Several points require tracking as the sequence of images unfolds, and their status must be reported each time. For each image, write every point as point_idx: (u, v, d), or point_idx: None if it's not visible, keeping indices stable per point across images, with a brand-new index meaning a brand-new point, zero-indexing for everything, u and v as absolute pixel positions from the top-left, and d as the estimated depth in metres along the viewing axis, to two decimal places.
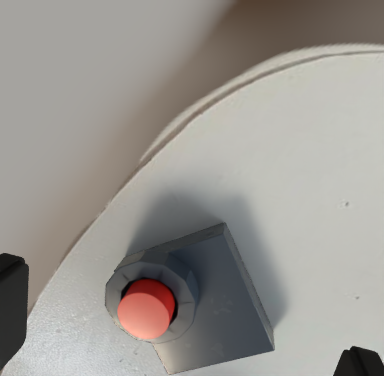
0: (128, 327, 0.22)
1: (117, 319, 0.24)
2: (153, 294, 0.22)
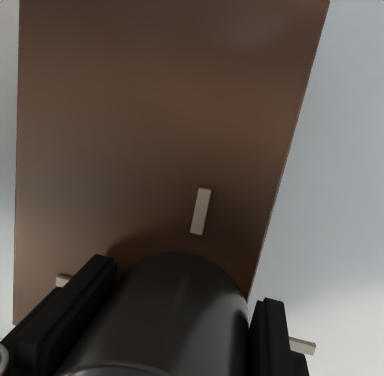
0: None
1: None
2: None
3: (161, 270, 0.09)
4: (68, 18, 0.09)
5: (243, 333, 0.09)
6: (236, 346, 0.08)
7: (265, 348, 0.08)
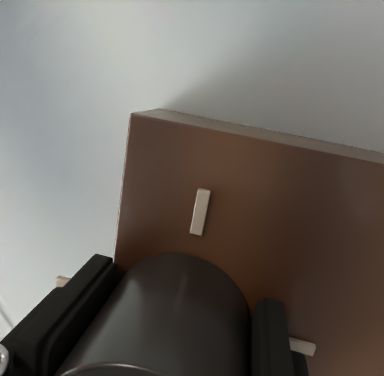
0: None
1: None
2: None
3: (160, 271, 0.09)
4: None
5: (243, 333, 0.09)
6: (236, 347, 0.08)
7: (265, 348, 0.08)
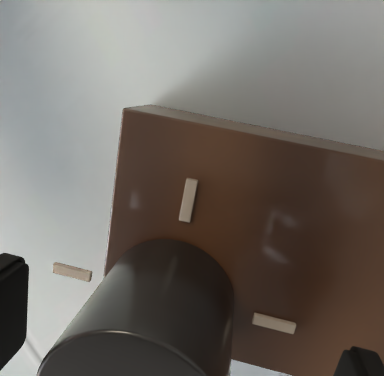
0: None
1: None
2: None
3: (151, 254, 0.10)
4: None
5: (227, 310, 0.09)
6: (220, 321, 0.09)
7: None
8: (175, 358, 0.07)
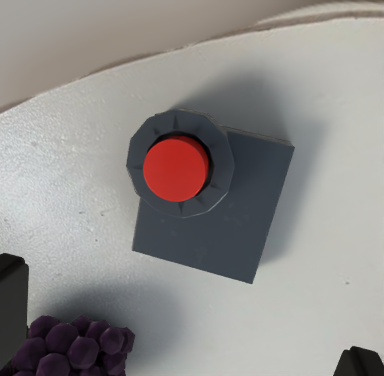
0: (149, 173, 0.19)
1: (132, 162, 0.20)
2: (201, 156, 0.18)
3: None
4: None
5: None
6: None
7: None
8: None
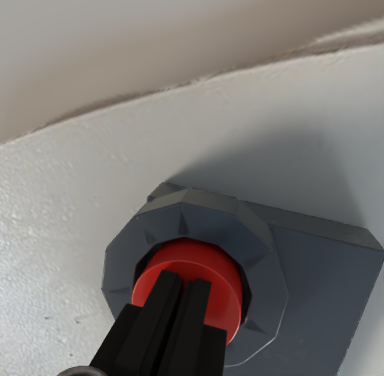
0: None
1: (111, 283, 0.12)
2: (232, 286, 0.10)
3: None
4: None
5: None
6: None
7: (180, 322, 0.08)
8: None
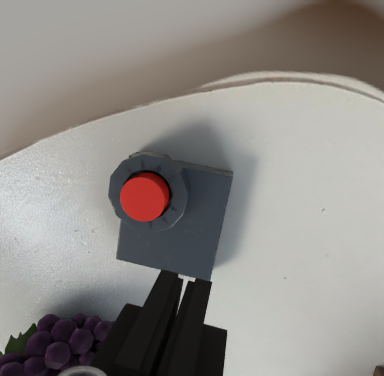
0: (124, 201, 0.26)
1: (112, 192, 0.28)
2: (161, 188, 0.26)
3: None
4: None
5: None
6: None
7: (180, 322, 0.08)
8: None
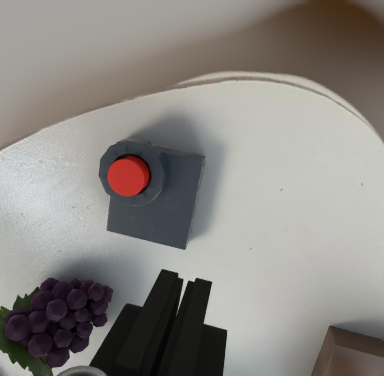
0: (111, 179, 0.31)
1: (102, 172, 0.33)
2: (141, 168, 0.31)
3: None
4: (346, 359, 0.35)
5: None
6: None
7: (180, 322, 0.08)
8: None
